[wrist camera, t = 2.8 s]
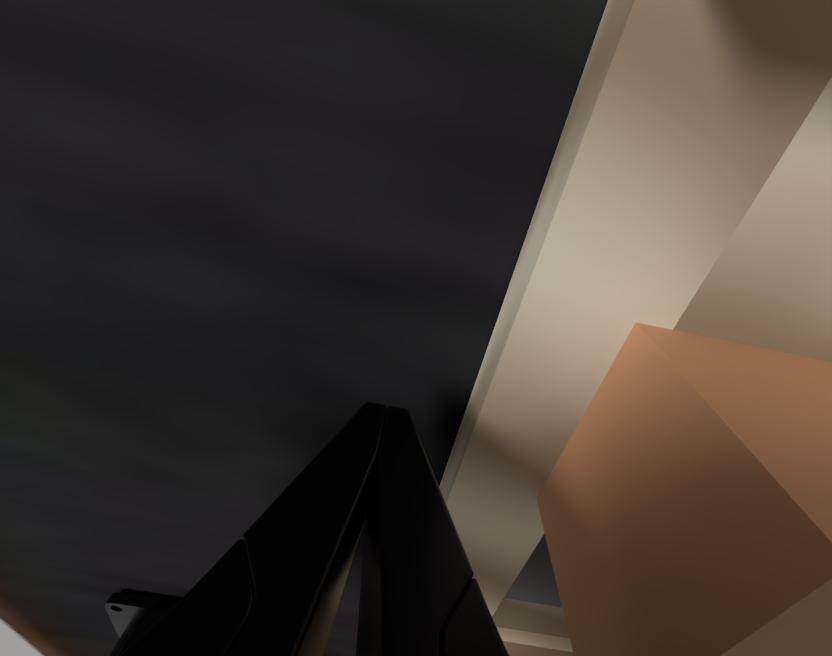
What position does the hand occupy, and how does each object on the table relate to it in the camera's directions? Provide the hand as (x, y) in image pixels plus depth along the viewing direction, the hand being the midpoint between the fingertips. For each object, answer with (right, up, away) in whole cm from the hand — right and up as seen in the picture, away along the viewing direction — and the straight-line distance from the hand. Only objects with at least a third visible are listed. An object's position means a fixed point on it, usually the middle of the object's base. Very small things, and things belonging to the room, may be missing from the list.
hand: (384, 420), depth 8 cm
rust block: (+7, -1, +1) cm, 7 cm away
